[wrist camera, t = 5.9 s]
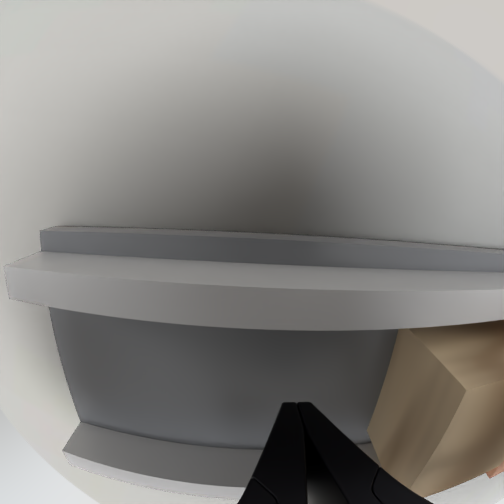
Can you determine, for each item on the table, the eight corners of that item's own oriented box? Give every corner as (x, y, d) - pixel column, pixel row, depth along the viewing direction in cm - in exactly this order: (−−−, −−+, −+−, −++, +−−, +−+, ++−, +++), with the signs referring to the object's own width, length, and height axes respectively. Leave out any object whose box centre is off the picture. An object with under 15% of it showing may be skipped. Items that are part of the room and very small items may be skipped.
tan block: (497, 313, 9) (561, 357, 5) (459, 411, 10) (500, 465, 6) (400, 320, 9) (466, 390, 5) (366, 430, 10) (396, 505, 6)
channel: (521, 251, 9) (601, 283, 4) (459, 428, 11) (498, 485, 7) (55, 226, 9) (-48, 258, 4) (97, 432, 11) (58, 504, 7)
